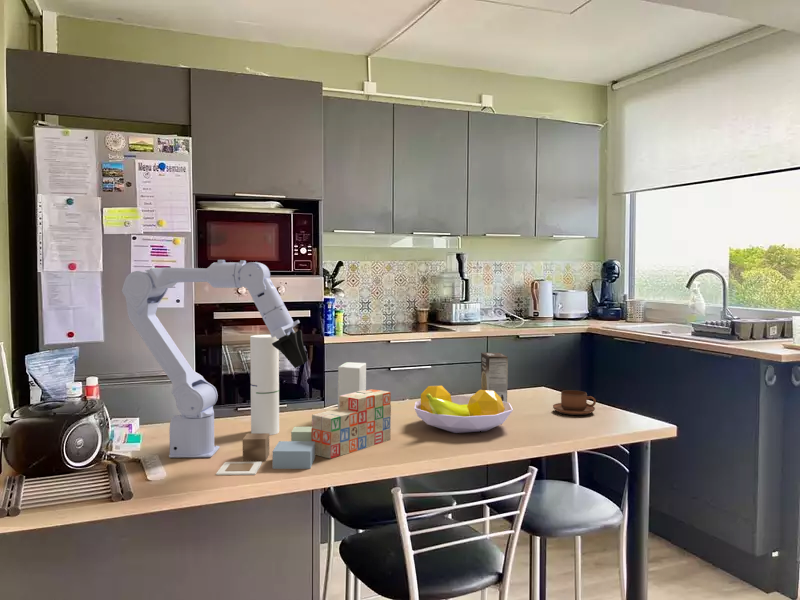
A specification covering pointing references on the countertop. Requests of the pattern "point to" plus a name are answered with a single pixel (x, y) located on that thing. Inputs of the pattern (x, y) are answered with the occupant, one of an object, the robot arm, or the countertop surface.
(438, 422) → the fruit bowl
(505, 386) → the coffee box
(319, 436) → the stack of blocks
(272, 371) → the cylindrical container
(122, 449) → the countertop surface
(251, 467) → the white flat square frame
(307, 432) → the sage cube
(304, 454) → the base block
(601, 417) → the countertop surface
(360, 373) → the skincare box
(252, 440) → the walnut cube
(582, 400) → the cup and saucer
